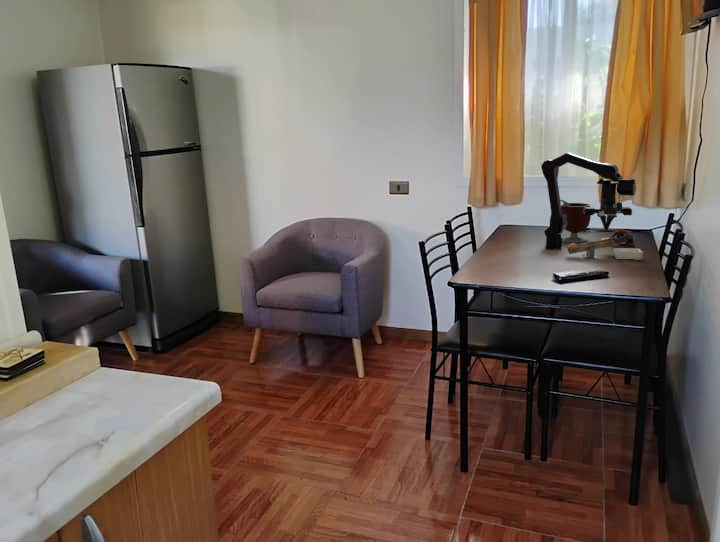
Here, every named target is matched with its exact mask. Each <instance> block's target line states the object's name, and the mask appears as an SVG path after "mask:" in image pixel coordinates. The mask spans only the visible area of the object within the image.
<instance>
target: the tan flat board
mask: <svg viewBox="0 0 720 542" xmlns="http://www.w3.org/2000/svg"><path fill="white" fill-rule="evenodd" d="M569 245H570V244H567V245H566V248H567V252H568V254H569V255H571V254H577V253H582V252H587V251H588V250H590V247H595V250H599V249H604V248H610V247H614V246H616V244H615V242H614V240H612V237H610V238H609V236H607V237H602V238H600V240H595V241H590V242H588V241H587V242H582V243H579V244H578V243H577V244H576V245H577V247H575V248H570V247H569Z"/></svg>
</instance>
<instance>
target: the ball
mask: <svg viewBox="0 0 720 542" xmlns="http://www.w3.org/2000/svg"><path fill="white" fill-rule="evenodd" d="M568 245H569V247H570V248H575V247H577V245H578V244H576V243H571V242H570V244H568Z"/></svg>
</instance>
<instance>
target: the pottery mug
mask: <svg viewBox="0 0 720 542" xmlns="http://www.w3.org/2000/svg"><path fill="white" fill-rule="evenodd" d="M615 236H616V237H615ZM610 238H612V240H614V242H615V245H620V244H622V243H624V244H625V243H626V244H625V245H632V246H633V247H635V240H634V237H633V235H632V233H630V232H628V230H627V229H618V230H617V231H615V232H613V233H612V234H611V237H610Z"/></svg>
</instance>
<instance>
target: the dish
mask: <svg viewBox="0 0 720 542" xmlns="http://www.w3.org/2000/svg"><path fill="white" fill-rule="evenodd" d="M612 256H614V257H615V258H616V259H635V260H634V261H643V260H644V252H643V251H642V249H640V248H629V247H628V248H625V247H624V248H618V247H617V248H616V247H615V248H612ZM614 257H613V258H614ZM615 258H614V259H615ZM616 259H615V260H616Z"/></svg>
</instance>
